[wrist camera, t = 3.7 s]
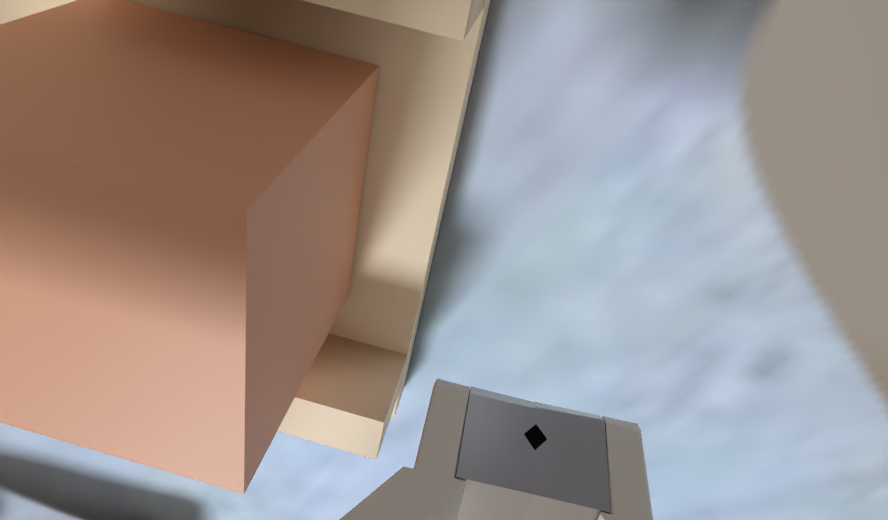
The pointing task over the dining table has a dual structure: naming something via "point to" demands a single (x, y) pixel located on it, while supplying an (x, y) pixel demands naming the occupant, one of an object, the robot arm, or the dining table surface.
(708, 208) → the dining table surface
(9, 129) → the salmon pink cube
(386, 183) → the channel
